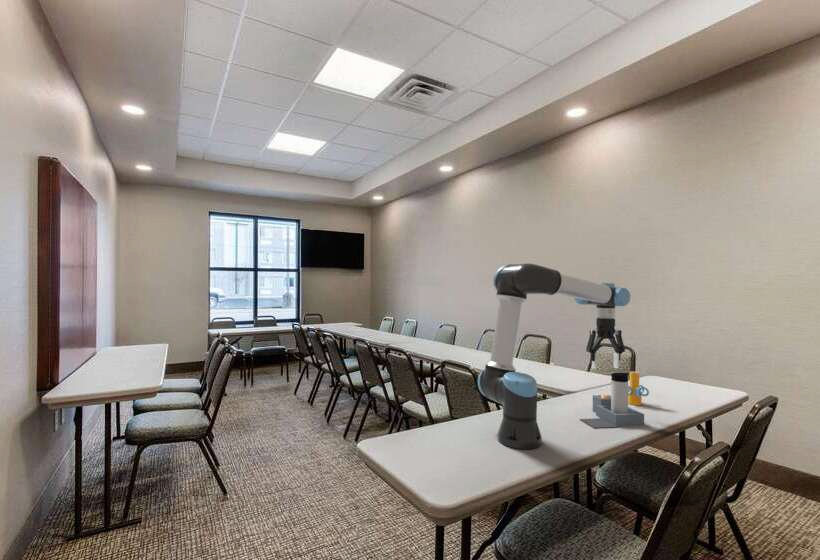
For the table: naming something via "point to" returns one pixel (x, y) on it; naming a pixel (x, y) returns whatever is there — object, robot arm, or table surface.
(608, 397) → the orange rounded peg
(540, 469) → the table surface
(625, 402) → the travel mug
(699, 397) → the table surface
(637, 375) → the cylinder
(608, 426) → the rubber mat
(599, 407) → the grey compartment tray
